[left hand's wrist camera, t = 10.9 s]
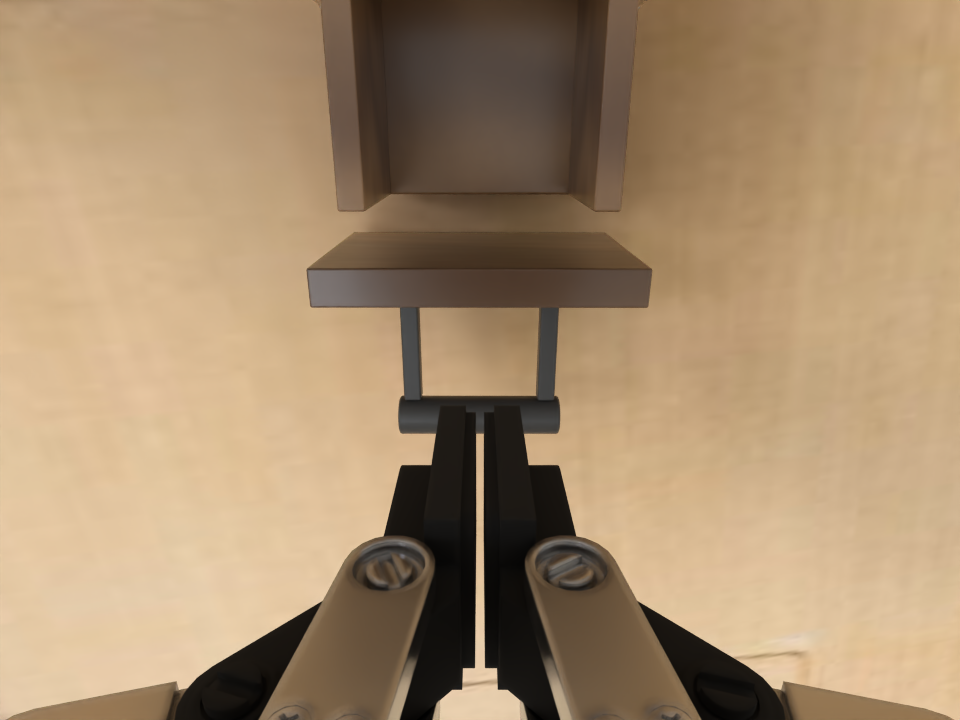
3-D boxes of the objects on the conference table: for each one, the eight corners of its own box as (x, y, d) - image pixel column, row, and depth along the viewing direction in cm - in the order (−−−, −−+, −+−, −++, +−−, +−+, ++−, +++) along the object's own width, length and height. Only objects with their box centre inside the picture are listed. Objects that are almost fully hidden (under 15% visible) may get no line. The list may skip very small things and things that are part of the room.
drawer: (594, 380, 26) (631, 461, 19) (364, 380, 26) (326, 460, 19) (656, -419, 17) (765, -761, 10) (304, -420, 17) (195, -762, 10)
